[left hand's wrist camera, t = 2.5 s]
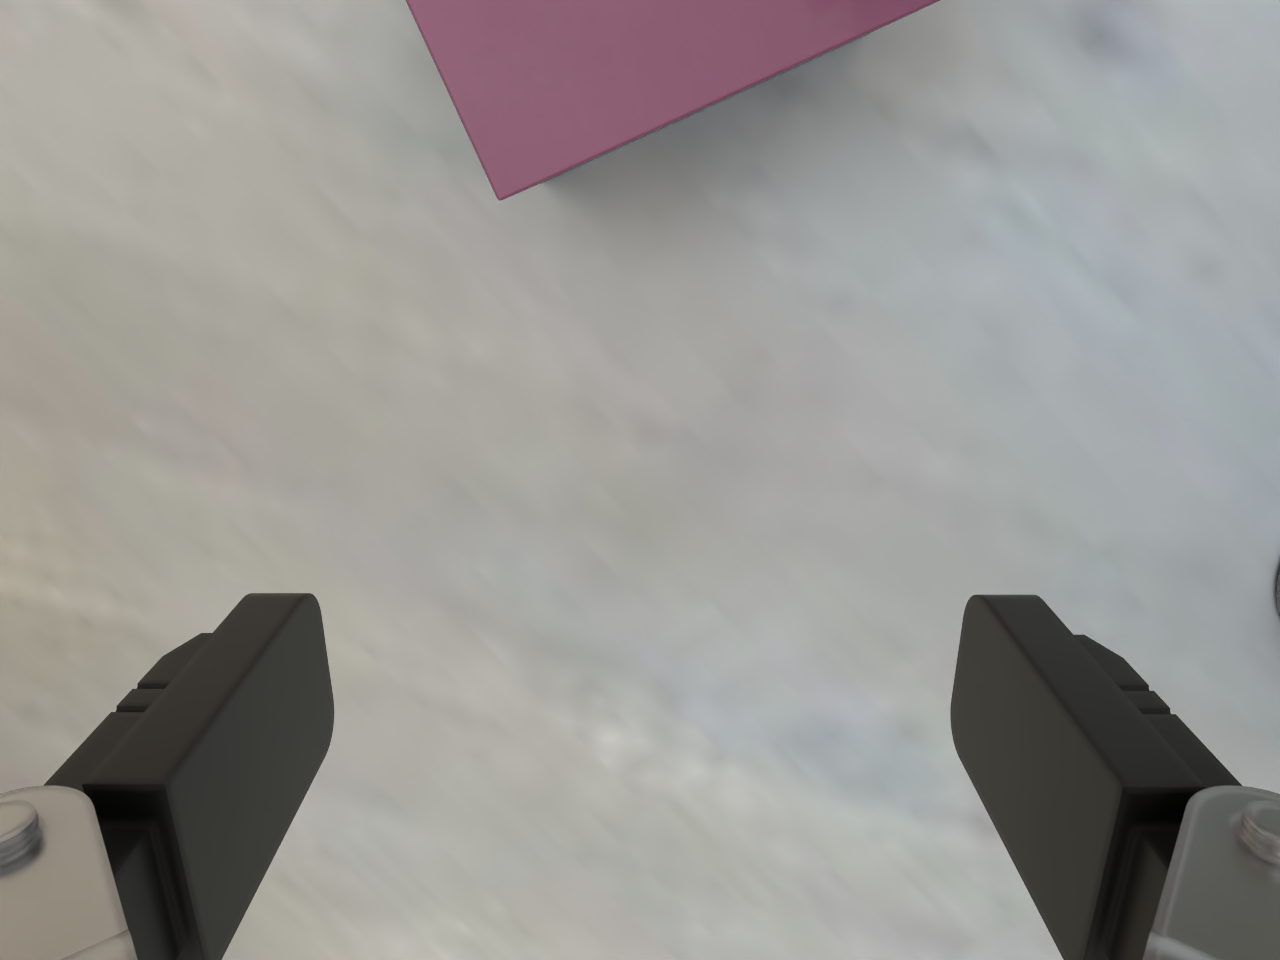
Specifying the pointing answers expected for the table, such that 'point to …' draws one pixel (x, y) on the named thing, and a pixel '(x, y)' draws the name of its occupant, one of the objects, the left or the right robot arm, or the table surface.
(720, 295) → the table surface
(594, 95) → the lid
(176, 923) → the left robot arm
